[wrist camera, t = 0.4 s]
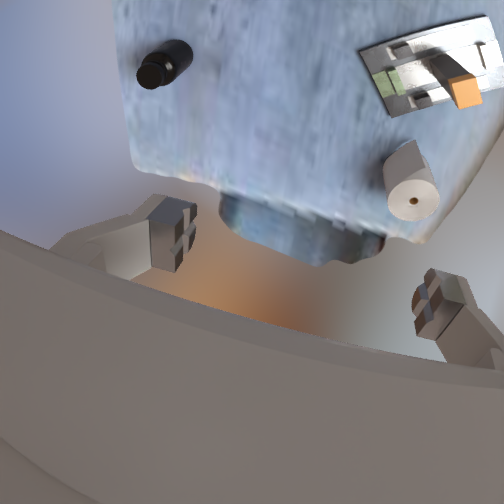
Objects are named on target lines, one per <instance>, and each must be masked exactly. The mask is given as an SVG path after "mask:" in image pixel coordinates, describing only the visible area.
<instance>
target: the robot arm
mask: <svg viewBox="0 0 504 504" xmlns="http://www.w3.org/2000/svg"><path fill="white" fill-rule="evenodd" d="M196 216H197V205H196V203H193V202H188V201H185V200H181V199H177V198H173V197H168V196H165V195H161V194H153V195H152V196H150V197H149V198H148V199H147V200H146V201H145V202H144V203H143V204H142V205H141V206H140V207H139V208H138V209H137V210H136V211H134V212H133V213H132V214H131V215H128V214H126V215H122V216H119V217H116V218H113V219H109V220H106V221H103V222H99V223H96V224H93V225H90V226H87V227H84V228H81V229H78V230H75V231H72V232H69V233H67V234H65V235H64V236H63V237H62V238H61V239H60V240H59V241H58V242H57V243H56V244H55V245H54V246H53V247H52V248H50V249H49V250H47V249H44V248H41V247H39V246H37V245H34V244H32V243H30V242H27V241H25V240H22V239H20V238H18V237H15V236H13V235H11V234H9V233H6V232H4V231H2V230H0V504H504V335H503V334H502V333H501V332H500V330H499V329H498V328H497V327H496V326H495V324H494V323H493V322H492V321H491V320H490V319H489V318H488V317H487V315H486V314H485V313H484V312H483V311H482V310H481V309H478V307H477V304H476V301H475V299H474V296H473V294H472V291H471V289H470V286H469V284H468V282H467V279H465V278H464V277H461V276H458V275H454V274H450V273H447V272H443V271H439V270H435V269H432V268H430V269H429V270H428V271H427V273H426V274H425V276H424V283H423V284H421V285H420V286H418V287H417V289H416V291H415V293H414V295H413V298H412V312H413V313H414V315H415V316H416V317H417V318H416V320H415V321H414V323H415V329H416V335H417V336H418V337H422V338H426V339H430V340H434V341H436V344H437V345H438V347H439V349H440V350H441V352H442V354H443V356H444V357H445V359H446V361H447V363H446V362H439V361H434V360H428V359H422V358H417V357H412V356H407V355H401V354H396V353H391V352H386V351H382V350H376V349H372V348H367V347H363V346H358V345H354V344H349V343H345V342H340V341H336V340H332V339H327V338H323V337H319V336H315V335H311V334H306V333H303V332H299V331H295V330H291V329H287V328H283V327H280V326H276V325H272V324H268V323H265V322H261V321H257V320H254V319H250V318H247V317H243V316H239V315H236V314H232V313H229V312H226V311H222V310H219V309H215V308H212V307H209V306H206V305H202V304H199V303H196V302H193V301H189V300H186V299H183V298H180V297H177V296H174V295H171V294H167V293H164V292H161V291H158V290H155V289H152V288H149V287H146V286H143V285H141V284H138V283H135V282H132V281H129V280H130V279H132V278H134V277H135V276H137V275H139V274H141V273H143V272H145V271H146V270H148V269H150V268H151V266H152V267H155V268H159V269H162V270H166V271H169V272H173V273H175V272H176V271H177V269H178V267H179V266H180V264H181V263H182V261H183V254H186V253H188V252H189V250H190V249H191V247H192V245H193V242H194V239H195V234H196V225H195V224H194V222H193V220H194V218H195V217H196Z"/></svg>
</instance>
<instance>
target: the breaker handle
mask: <svg viewBox="0 0 504 504" xmlns="http://www.w3.org/2000/svg"><path fill="white" fill-rule="evenodd" d="M429 61H430V64H431V66H432V69H433V71H434V74H435V77H436V80H437V81H438V82H439V83H440V85H441V86H442V87H443V88H444V89H445V91H446V92H447V93H448V94H449V96H450V97H451V98H452V100H453V101H454V102H455V105H456V106H457V107H458V109H463V108H467V107H470V106H474V105H478V104H482V103H483V102H482V98H481V93H480V89H479V86H478V82H477V78H476V77H475V76H474V75H473V74H472V73H470V72H469V71H467V70H466V69H465V68H464V67H463V66H462V65H461V64H459V63H458V62H457V61H456V60H455V59H454V58H452V57H451V56H450V55H449V54H448V55H444V56H441V57H437V58H433V59H430V60H429Z"/></svg>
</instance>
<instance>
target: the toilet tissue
mask: <svg viewBox="0 0 504 504" xmlns="http://www.w3.org/2000/svg"><path fill="white" fill-rule="evenodd" d="M383 179H384V185H385V191H386V197H387V203H388V207H389V210H390V211H391V213H392V214H393V215H394V216H396V217H397V218H399V219H402V220H404V221H417V220H421V219H425V218H426V217H428V216H430V215H431V214H432V213H433V212H434V211H435V210H436V208H437V206H438V204H439V201H440V199H439V192H438V190H437V187H436V183H435V181H434V178H433V175H432V172H431V169H430V167H429V164H428V162H427V160H426V159H425V157H424V156H423V155H421V153H420V150H419V148H418V146H417V143H416V140H413V141H411V142H409V143H406V144H405V145H404V146H402V147H401V148H399V149H398V150H397V151H395V152H394V153H393V154H392V155H391V156H389V157H388V158H387V160H386V161H385V163H384V165H383Z"/></svg>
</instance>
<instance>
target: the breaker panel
mask: <svg viewBox="0 0 504 504" xmlns="http://www.w3.org/2000/svg"><path fill="white" fill-rule="evenodd" d="M359 52H360V54H361V56H362V58H363V59H364V61H365V63H366V65H367V67H368V69H369V71H370V73H371V75H372V77H373V79H374V81H375V83H376V85H377V87H378V89H379V91H380V93H381V96H382V98H383V100H384V102H385V104H386V106H387V109H388V111H389V113H390V116H391V118H394V117H397V116H400V115H403V114H406V113H410V112H413V111H416V110H420V109H424V108H427V107H430V106H433V105H436V104H440V103H443V102H447V101H450V100H452V98H451V97H450V96H449V94H448V93H447V92H446V91H445V89H444V88H443V87H442V86H441V85H440V83H439V82H438V81H437V80H436V77H435V74H434V71H433V69H432V66H431V64H430V61H429V60H430V59H433V58H437V57H441V56H444V55H448V54H449V55H450V56H451V57H452V58H454V59H455V60H456V61H457V62H458V63H459V64H461V65H462V66H463V67H464V68H465V69H466V70H467V71H469V72H470V73H472V74H473V75H474V76H475V77H476V78H477V82H478V86H479V89H480V92H484V91H489V90H493V89H497V88H501V87H504V66H503V61H502V57H501V53H500V49H499V46H498V43H497V40H496V37H495V34H494V31H493V28H492V25H491V22H490V19H489V17H488V16H486V15H484V16H479V17H474V18H469V19H464V20H459V21H455V22H451V23H447V24H443V25H439V26H435V27H431V28H427V29H424V30H420V31H417V32H413V33H410V34H407V35H403V36H400V37H397V38H394V39H391V40H388V41H385V42H382V43H379V44H376V45H374V46H371V47H368V48H365V49H363V50H360V51H359Z"/></svg>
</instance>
